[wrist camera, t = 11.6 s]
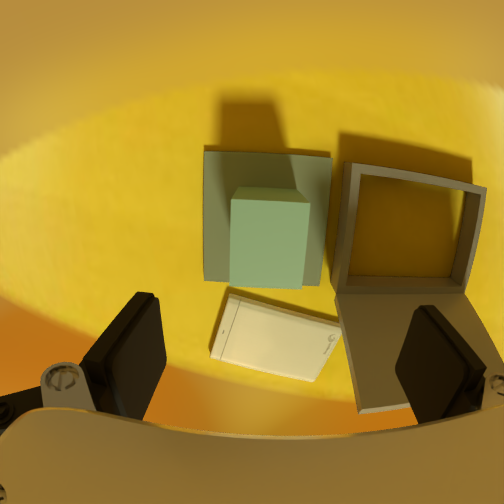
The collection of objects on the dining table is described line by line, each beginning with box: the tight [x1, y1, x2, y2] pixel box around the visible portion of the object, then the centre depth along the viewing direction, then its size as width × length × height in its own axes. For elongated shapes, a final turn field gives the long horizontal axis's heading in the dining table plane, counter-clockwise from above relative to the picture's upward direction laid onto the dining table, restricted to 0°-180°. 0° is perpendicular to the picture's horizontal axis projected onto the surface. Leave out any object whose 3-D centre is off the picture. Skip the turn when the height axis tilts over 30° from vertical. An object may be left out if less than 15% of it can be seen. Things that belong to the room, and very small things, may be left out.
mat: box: [203, 151, 333, 286], centre depth 26 cm, size 11×12×1 cm
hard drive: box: [210, 293, 342, 382], centre depth 31 cm, size 2×8×12 cm
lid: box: [334, 293, 504, 414], centre depth 21 cm, size 16×12×2 cm
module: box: [229, 186, 310, 289], centre depth 23 cm, size 5×6×7 cm
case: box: [330, 162, 487, 294], centre depth 25 cm, size 16×12×2 cm
